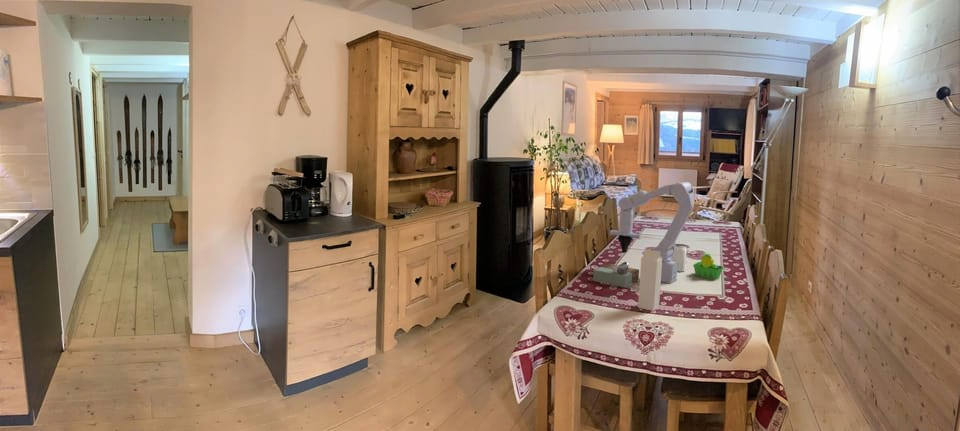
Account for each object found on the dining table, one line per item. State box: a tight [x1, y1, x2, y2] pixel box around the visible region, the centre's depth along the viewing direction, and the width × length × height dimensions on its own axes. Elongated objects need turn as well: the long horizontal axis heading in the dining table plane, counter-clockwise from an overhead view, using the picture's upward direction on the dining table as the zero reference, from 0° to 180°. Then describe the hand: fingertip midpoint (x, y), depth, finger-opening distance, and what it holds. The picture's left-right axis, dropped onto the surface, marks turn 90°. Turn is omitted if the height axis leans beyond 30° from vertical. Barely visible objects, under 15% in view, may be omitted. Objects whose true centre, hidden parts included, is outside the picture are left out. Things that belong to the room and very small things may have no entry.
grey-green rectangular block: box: [592, 266, 633, 288], centre depth 239 cm, size 15×6×7 cm, turn 51°
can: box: [671, 243, 687, 273], centre depth 259 cm, size 6×6×12 cm
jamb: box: [600, 263, 640, 285], centre depth 244 cm, size 15×6×5 cm, turn 51°
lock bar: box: [613, 261, 630, 273], centre depth 239 cm, size 11×3×3 cm, turn 140°
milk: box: [637, 249, 662, 312], centre depth 207 cm, size 6×6×22 cm
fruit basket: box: [692, 253, 725, 280], centre depth 249 cm, size 11×9×11 cm
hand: (624, 252), depth 254 cm, fingers closed
